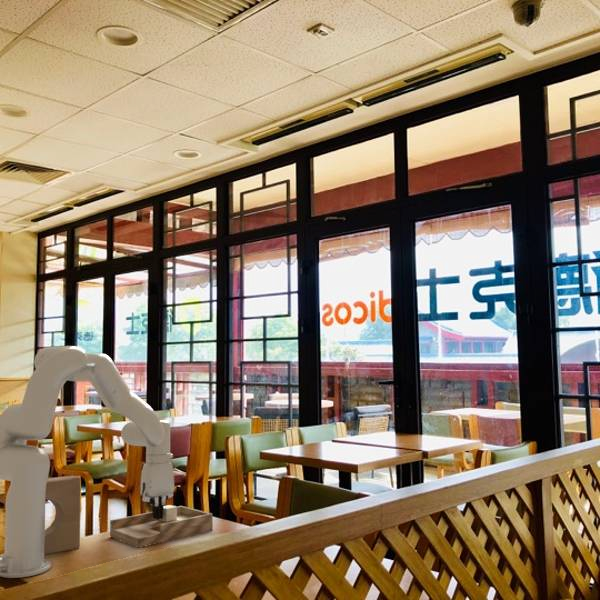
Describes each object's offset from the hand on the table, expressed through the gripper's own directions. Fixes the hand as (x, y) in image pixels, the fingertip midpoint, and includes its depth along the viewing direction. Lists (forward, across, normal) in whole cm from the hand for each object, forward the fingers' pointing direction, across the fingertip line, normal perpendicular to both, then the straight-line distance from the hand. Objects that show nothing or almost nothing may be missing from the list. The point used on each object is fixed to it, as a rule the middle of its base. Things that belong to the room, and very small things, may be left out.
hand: (157, 518), depth 205 cm
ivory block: (+1, -4, 0) cm, 4 cm away
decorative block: (+4, +31, -3) cm, 32 cm away
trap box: (+4, +1, +4) cm, 6 cm away
